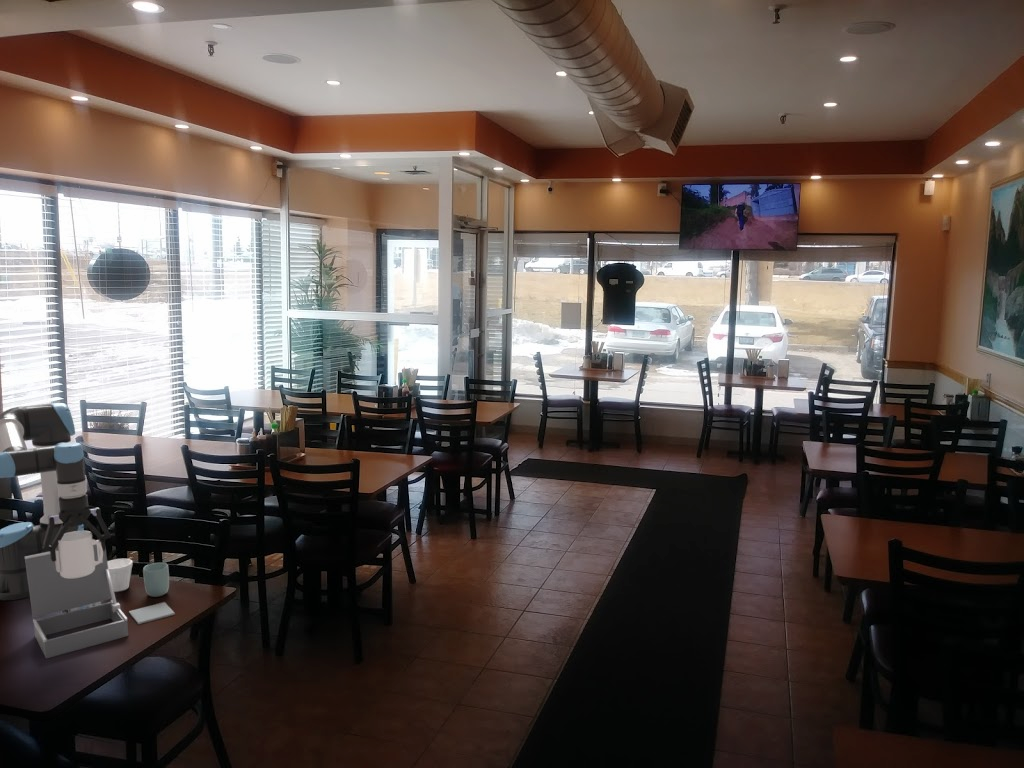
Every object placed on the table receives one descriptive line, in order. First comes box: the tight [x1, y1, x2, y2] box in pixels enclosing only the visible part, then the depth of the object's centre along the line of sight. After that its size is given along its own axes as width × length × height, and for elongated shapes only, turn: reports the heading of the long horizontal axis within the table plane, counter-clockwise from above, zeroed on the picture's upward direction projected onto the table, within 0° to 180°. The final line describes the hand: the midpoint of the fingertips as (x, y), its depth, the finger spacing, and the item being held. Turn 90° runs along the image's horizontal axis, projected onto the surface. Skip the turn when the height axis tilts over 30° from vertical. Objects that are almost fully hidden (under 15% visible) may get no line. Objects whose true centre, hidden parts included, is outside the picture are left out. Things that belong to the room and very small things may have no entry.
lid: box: [25, 544, 112, 619], centre depth 252 cm, size 19×22×1 cm
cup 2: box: [142, 562, 170, 598], centre depth 276 cm, size 8×8×10 cm
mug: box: [57, 530, 103, 579], centre depth 244 cm, size 10×12×12 cm
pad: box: [128, 601, 176, 625], centre depth 261 cm, size 11×11×1 cm
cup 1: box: [107, 558, 134, 593], centre depth 281 cm, size 10×10×9 cm
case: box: [32, 569, 129, 659], centre depth 245 cm, size 20×23×16 cm
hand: (79, 566), depth 244 cm, fingers closed on mug, 11 cm apart
